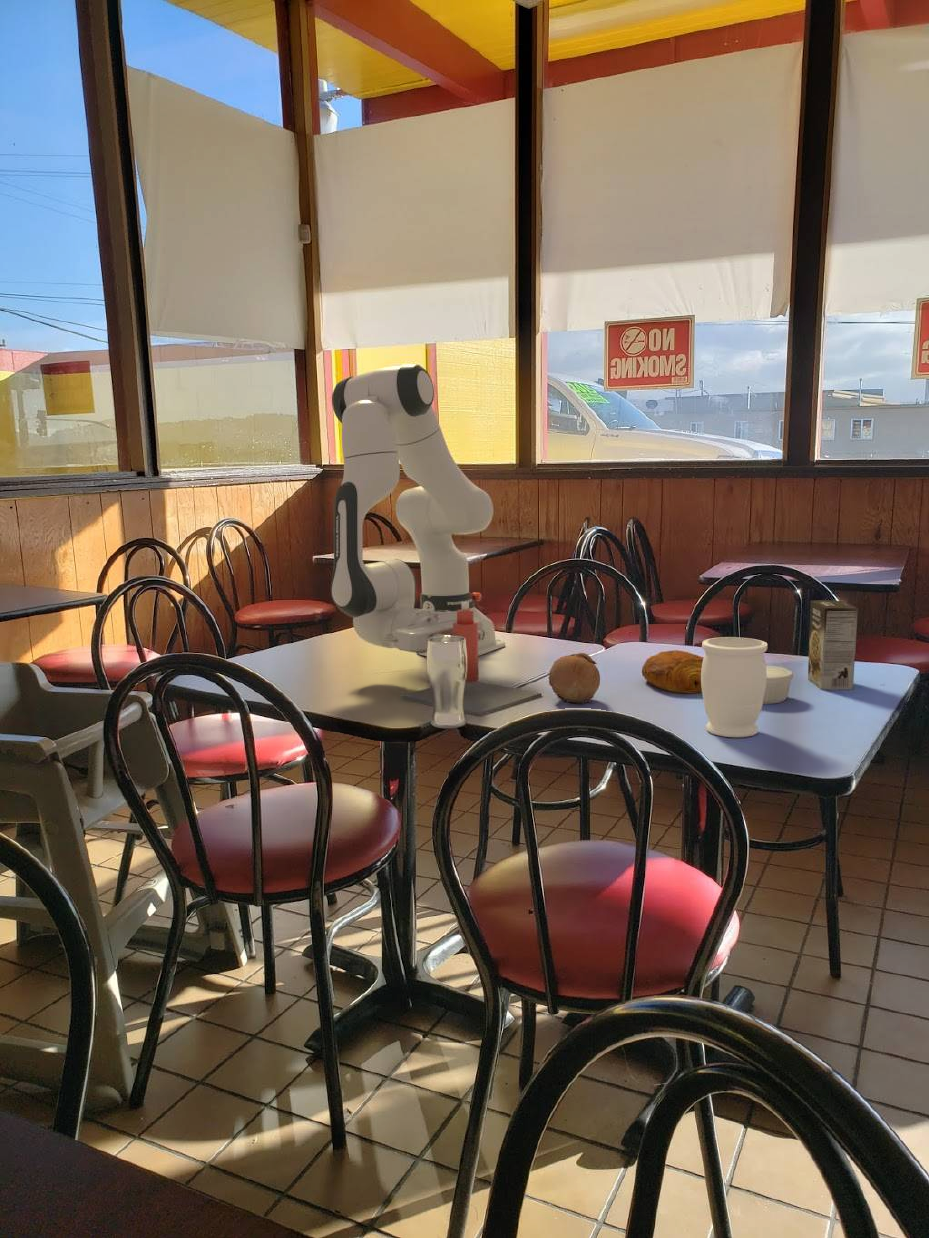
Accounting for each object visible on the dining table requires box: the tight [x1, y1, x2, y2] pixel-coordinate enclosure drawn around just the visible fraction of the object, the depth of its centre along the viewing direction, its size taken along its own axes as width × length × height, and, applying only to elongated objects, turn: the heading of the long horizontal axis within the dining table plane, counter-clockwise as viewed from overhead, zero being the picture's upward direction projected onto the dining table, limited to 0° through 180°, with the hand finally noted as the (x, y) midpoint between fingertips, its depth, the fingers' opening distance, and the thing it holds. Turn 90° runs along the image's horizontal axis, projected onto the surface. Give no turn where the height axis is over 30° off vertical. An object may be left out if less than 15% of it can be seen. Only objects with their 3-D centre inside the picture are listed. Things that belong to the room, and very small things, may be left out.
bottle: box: [453, 602, 479, 682], centre depth 182 cm, size 5×5×15 cm
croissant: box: [641, 649, 704, 694], centre depth 189 cm, size 14×16×8 cm
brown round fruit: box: [548, 652, 601, 704], centre depth 178 cm, size 10×9×10 cm
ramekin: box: [763, 664, 794, 705], centre depth 178 cm, size 11×11×5 cm
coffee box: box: [807, 599, 858, 691], centre depth 186 cm, size 9×6×16 cm
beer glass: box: [426, 636, 467, 729], centre depth 164 cm, size 7×7×15 cm
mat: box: [401, 680, 543, 717], centre depth 183 cm, size 18×20×1 cm
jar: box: [701, 636, 768, 738], centre depth 156 cm, size 11×10×15 cm
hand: (468, 638), depth 181 cm, fingers closed on bottle, 5 cm apart
